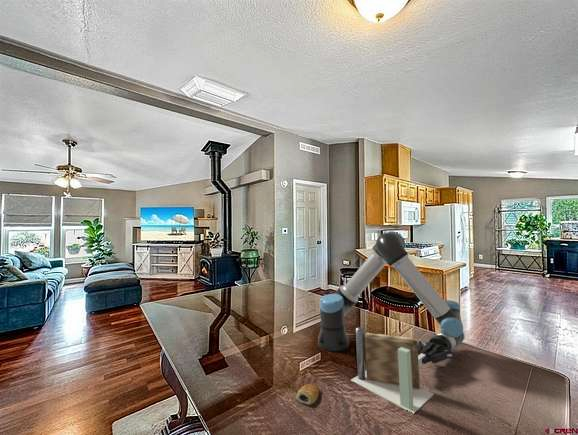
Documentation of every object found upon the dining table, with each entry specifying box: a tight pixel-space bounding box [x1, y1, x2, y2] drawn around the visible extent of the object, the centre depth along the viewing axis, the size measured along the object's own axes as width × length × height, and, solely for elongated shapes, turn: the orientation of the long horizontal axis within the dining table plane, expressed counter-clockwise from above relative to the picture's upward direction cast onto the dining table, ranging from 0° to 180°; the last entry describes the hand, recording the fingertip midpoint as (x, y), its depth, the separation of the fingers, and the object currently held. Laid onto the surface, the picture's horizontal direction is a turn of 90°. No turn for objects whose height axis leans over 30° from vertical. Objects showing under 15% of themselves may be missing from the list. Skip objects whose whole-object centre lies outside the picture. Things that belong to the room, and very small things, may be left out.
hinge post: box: [355, 326, 366, 380], centre depth 101 cm, size 3×3×19 cm
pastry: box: [295, 382, 320, 406], centre depth 92 cm, size 9×7×4 cm
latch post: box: [398, 347, 413, 410], centre depth 85 cm, size 3×2×18 cm
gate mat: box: [350, 370, 435, 415], centre depth 95 cm, size 24×14×1 cm, turn 39°
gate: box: [364, 332, 421, 389], centre depth 97 cm, size 18×2×17 cm, turn 67°
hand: (415, 363), depth 97 cm, fingers closed
